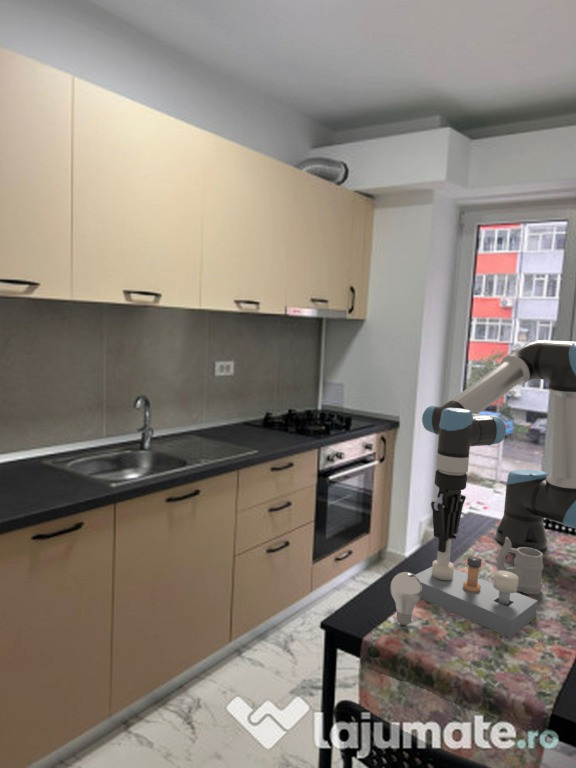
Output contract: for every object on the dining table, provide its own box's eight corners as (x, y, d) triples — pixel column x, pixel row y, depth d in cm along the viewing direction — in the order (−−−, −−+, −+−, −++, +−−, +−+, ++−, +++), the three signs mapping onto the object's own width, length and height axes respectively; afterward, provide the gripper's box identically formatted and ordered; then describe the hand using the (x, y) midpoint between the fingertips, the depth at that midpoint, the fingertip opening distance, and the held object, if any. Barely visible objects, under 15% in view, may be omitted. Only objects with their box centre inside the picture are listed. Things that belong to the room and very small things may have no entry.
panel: (437, 577, 152) (439, 563, 151) (536, 616, 133) (537, 600, 133) (408, 592, 142) (409, 577, 141) (509, 637, 124) (511, 620, 123)
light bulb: (384, 616, 130) (388, 566, 128) (414, 617, 130) (418, 566, 129) (391, 633, 123) (395, 580, 121) (423, 633, 123) (427, 580, 122)
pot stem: (468, 583, 140) (470, 554, 139) (483, 589, 137) (486, 560, 136) (459, 588, 137) (462, 558, 136) (475, 594, 134) (478, 564, 134)
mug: (537, 598, 143) (542, 552, 142) (490, 583, 150) (494, 539, 149) (545, 587, 149) (550, 543, 148) (499, 574, 156) (503, 531, 155)
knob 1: (437, 583, 147) (439, 557, 146) (455, 591, 143) (457, 564, 142) (426, 589, 143) (428, 563, 142) (444, 597, 140) (447, 570, 139)
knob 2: (497, 596, 135) (500, 568, 134) (519, 605, 132) (522, 576, 131) (487, 603, 132) (490, 574, 131) (509, 612, 128) (512, 582, 127)
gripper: (451, 464, 147) (443, 552, 150) (423, 471, 138) (415, 564, 140) (478, 470, 142) (469, 561, 144) (451, 478, 133) (442, 575, 135)
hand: (443, 563), depth 142 cm, fingers closed
